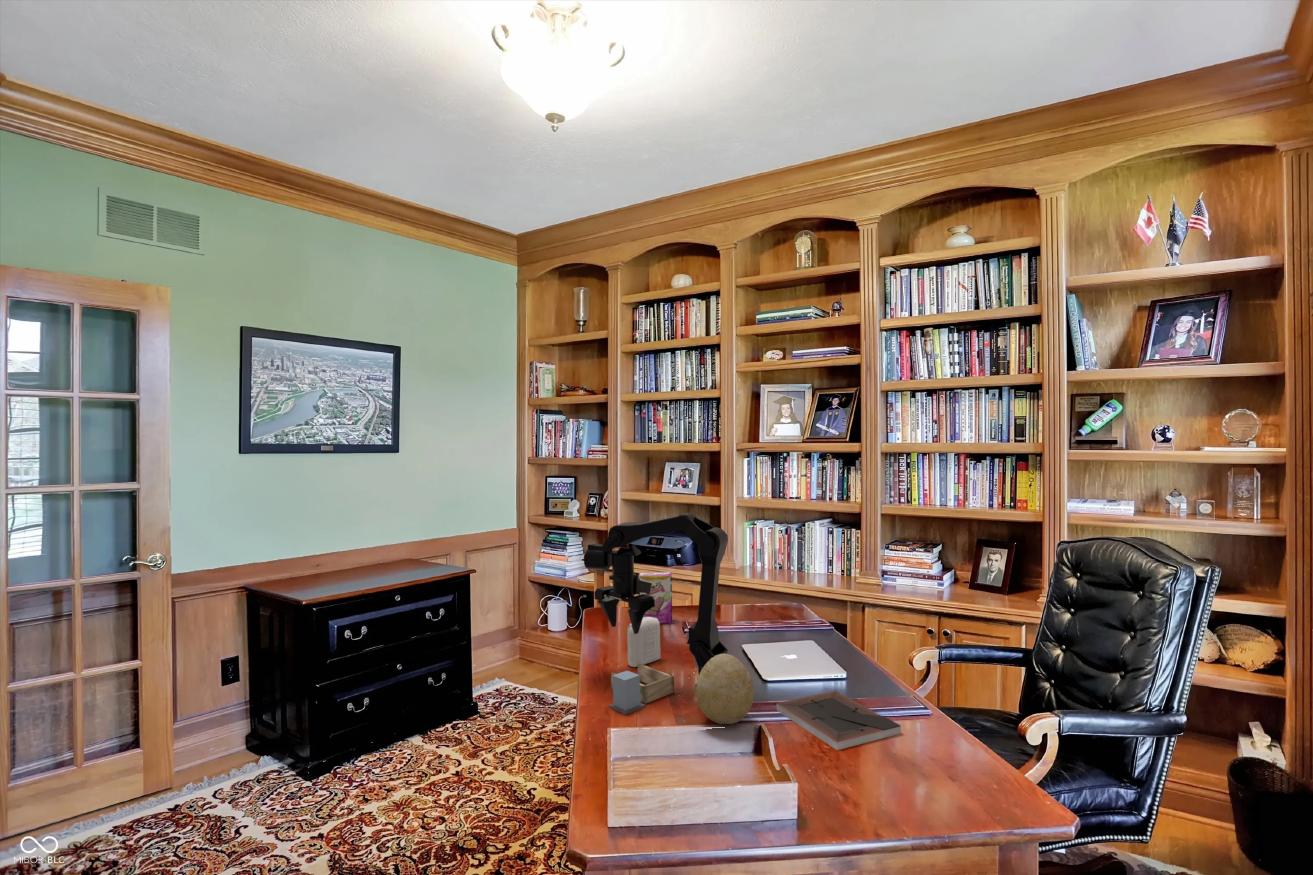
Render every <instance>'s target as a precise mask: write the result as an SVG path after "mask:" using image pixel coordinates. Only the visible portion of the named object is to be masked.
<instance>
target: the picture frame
mask: <svg viewBox="0 0 1313 875" xmlns="http://www.w3.org/2000/svg"><path fill="white" fill-rule="evenodd" d="M776 711H777V712H778V713H780V714H782V715H783V716H785V718H788V719H789V720H791V721H792V722H794V723H795V724H796V725H799V727H801V728H802V729H804V730H805V731H807V732H809V733H811V735H814V736H815V737H816V738H818V739H819V740H821V741H822V742H824V743H825V744H828V745H829V746H830V747H832V748H833V749H834V750H836V751H841V750H843V749H848V748H850V747H854V746H858V745H861V744H862V745H863V744H866V743H870V742H873V741H878V740H882V739H884V738H889V737H893V736H896V735H900V734H902V732H901V731H902V729H901V727H902V726H901V724H899V723H897V722H895V721H893V720H891V719H890V718H888V717H886V716H884V715H881V714H879V713H877V712H875V711H873V710H872V709H870V708H868V707H866V706H864V705H862V704H861V703H859V702H857V701H856V700H854V699H852V698H849V697H848V696H846V695H844V694H843V693H840V692H838V691H837V690H832V691H827V692H822V693H818V694H813V695H808V696H804V697H799V698H795V699H790V700H785V701H781V702H777V703H776Z"/></svg>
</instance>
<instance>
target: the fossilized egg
mask: <svg viewBox="0 0 1313 875" xmlns="http://www.w3.org/2000/svg"><path fill="white" fill-rule="evenodd" d="M696 684H697V685H696V686H695V696H696V700H697V703H698V706H699V708H700V709H701V711H702V713H703V714H704V715H705V716H706V717H707V718H708V719H709V720H710V721H712V722H714V723H716V724H719V725H722V724H730V725H733V724H736V723H738V722H740V721H741V720H743V719H744V718H745V717H746V716H747V715H748V714H749V712H750V711H751V708H752V706H753V703H754V699H755V688H754V687H755V686H754V683H753V679H752V676H751V674H750V672H749V671H748V669H747V667H746V666H745V665H744V664H743V663H742V662H741V661H740V659H739V658H737V657H735V655H732V654H729V653H727V654H719V655H716V656H714V657H713V658H711V659H710V660H709V661H708V662H707V663H706V664H705V666H704V667H703V669H702V670H701V672H700V674H699V673H698V677H697V681H696Z"/></svg>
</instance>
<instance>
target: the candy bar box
mask: <svg viewBox="0 0 1313 875" xmlns="http://www.w3.org/2000/svg"><path fill="white" fill-rule="evenodd" d="M638 579H639V580H641V581H645V582H649V583H652V587H651V591H650V596H652V597H653V598H654V599H655V607H652V608H651V610H648V611H647V612H646V613H645V614H644V617H653V618H657V619H658V621H659V623H660V625H667V624H669V625H670V624H671V625H672V624H673V589H672V588H673V587H672V586H673V584H672V583H673V579H672V572H667V571H665V572H638ZM642 594H646V595H648V594H647V593H640V594H638V595H642Z"/></svg>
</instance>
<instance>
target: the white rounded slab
mask: <svg viewBox="0 0 1313 875" xmlns="http://www.w3.org/2000/svg"><path fill="white" fill-rule="evenodd" d="M626 634H627V642H626V643H627V645H626V646H627V664H628V665H629V667H632V668H636V667H637V668H638V664H642V665H647V664H649V663H653V662H656V661H658V660H660V659H661V624H660V623H659V621H658V619H657V618H653V617H643V619H642V622H641V626H640V629H639V632H638V634H634V632H633V629H632V625H631V623H629V625H628V626H627V630H626Z"/></svg>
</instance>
